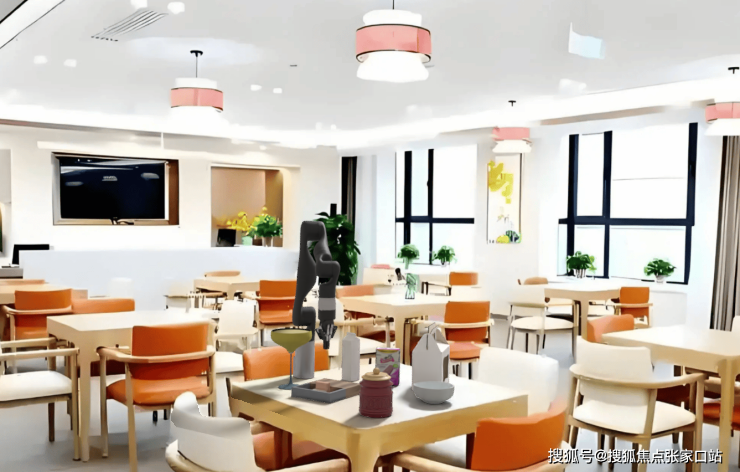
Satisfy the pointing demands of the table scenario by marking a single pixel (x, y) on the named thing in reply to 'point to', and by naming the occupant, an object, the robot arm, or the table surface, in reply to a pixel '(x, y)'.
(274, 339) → the cocktail glass
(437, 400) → the cereal bowl
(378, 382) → the canister
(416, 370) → the gable box
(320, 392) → the box
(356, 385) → the brown wooden board
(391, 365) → the candy bar box
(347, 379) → the milk
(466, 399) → the table surface
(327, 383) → the terracotta tile
